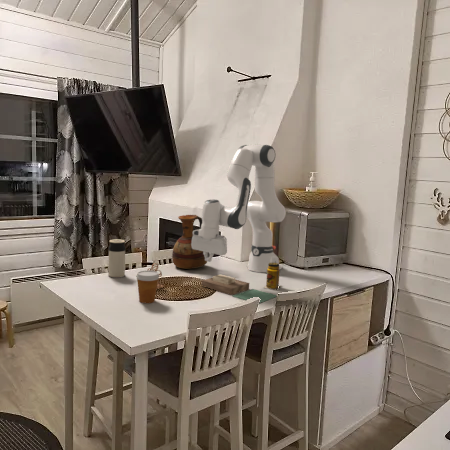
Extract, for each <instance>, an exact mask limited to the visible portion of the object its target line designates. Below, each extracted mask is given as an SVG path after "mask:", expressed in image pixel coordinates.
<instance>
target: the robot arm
mask: <svg viewBox="0 0 450 450" xmlns="http://www.w3.org/2000/svg"><path fill="white" fill-rule="evenodd" d="M275 160H276V150H275V149H274V148H273V146H272V145H269V144H258V143H257V144H256V143H255V144H244V145H241V146H240V147H238V148H237V150H236V152H235V153H234V155H233V157H232V159H231V161H230V164H229V166H228V169H227V172H226V177H227V181H228V182H229V183H230V184H231V185H233V186H234V187H236V189H237V190H238V194H237V198H236V199H237V200H236V205H235V206H234V207H230V206H225V205H223V204H222V203H221V202H220V200H219V199H207V200H205V201H204V202H203V204H202V209H201V210H202V211H201V218H202V225H201V229H199V228H198V229H195V230H194V229H193V230H194V231H193V237H192V243H191V246H192V249H195V250H200V251H203V254H204V257H205V261H207V263H208V262H210V263H211V262H212V259H213V257H214V255H218V256H225V255H226V254H228V246H227V245H228V243H227V242H228V241H227V240H228V239H227V238H226V237H225V235H221V234H220V226H222V227H226V228H230V229H234V230H239V229H241V228H242V227H244V226H245V224H246V222H247V219H248V221H249V223H250V227H251V229H252V243H251V247H250V251H251V252H249V257H248V263H247V264H246V267H247V269H248V270H249V271H251V272H256V273H267V269H268V264H269V263H278V264H279V270H282V269H283V266H282V265H280V258H279V257H278V255H277V254H275V252H274V250H276V248H277V247H276V245H273V231H272V229H270V228H269V227H268V225H267V223H281V222H283V221H284V219H285V218H286V215H287V211H286V207H285V206H284V205H283V203H281V202H280V200H279V198H278V196H277V193H276V186H275V185H276V184H275V181H276V179H275V178H276V172H275V165H274V162H275ZM252 167H254V191H255V193H256V194H257V195H258V196H259V197H260V199H261V200H249V199H250V196H251V189H252V183H251V180H250V173H251V170H252ZM207 253H208V254H207Z"/></svg>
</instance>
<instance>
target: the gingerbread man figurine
mask: <svg viewBox="0 0 450 450" xmlns="http://www.w3.org/2000/svg"><path fill="white" fill-rule="evenodd" d="M146 271H156V272H159V273H158V274H159V278H162V276H163V273H162V271H161V270H160V269H159V264H158V263H156V262H155V263H152V264H151V266H150V267H148V268H147V270H146ZM160 287H164V288H165V285H162V284H161V283H160V280H159V279H158V283H157V288H160Z"/></svg>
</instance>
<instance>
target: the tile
mask: <svg viewBox="0 0 450 450" xmlns="http://www.w3.org/2000/svg"><path fill="white" fill-rule="evenodd" d="M212 278H213V281H216V282H220V283H224V284H231V283H234V282H235V279H236V277H233V276H229V275H224V274H221V273H220V274H216V275H213V276H212Z"/></svg>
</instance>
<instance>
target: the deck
mask: <svg viewBox="0 0 450 450" xmlns="http://www.w3.org/2000/svg"><path fill="white" fill-rule="evenodd" d="M201 285H203V286H206V287H208V288H211V289H214V290H213V291H215V290H216V291H215V292H219V293H222V294H226V295H229V296H233V295H236V294H239V293H242V292H245V291H248V290H250V282H247V281H243V280H240V279H236V278H235V282H234V283H231V284H224V283H220V282H216V281H213V277H209V278H206V279H205V278H204V279H202V280H201V284H200V286H201ZM208 288H207V289H208ZM211 289H210V290H211Z"/></svg>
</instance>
